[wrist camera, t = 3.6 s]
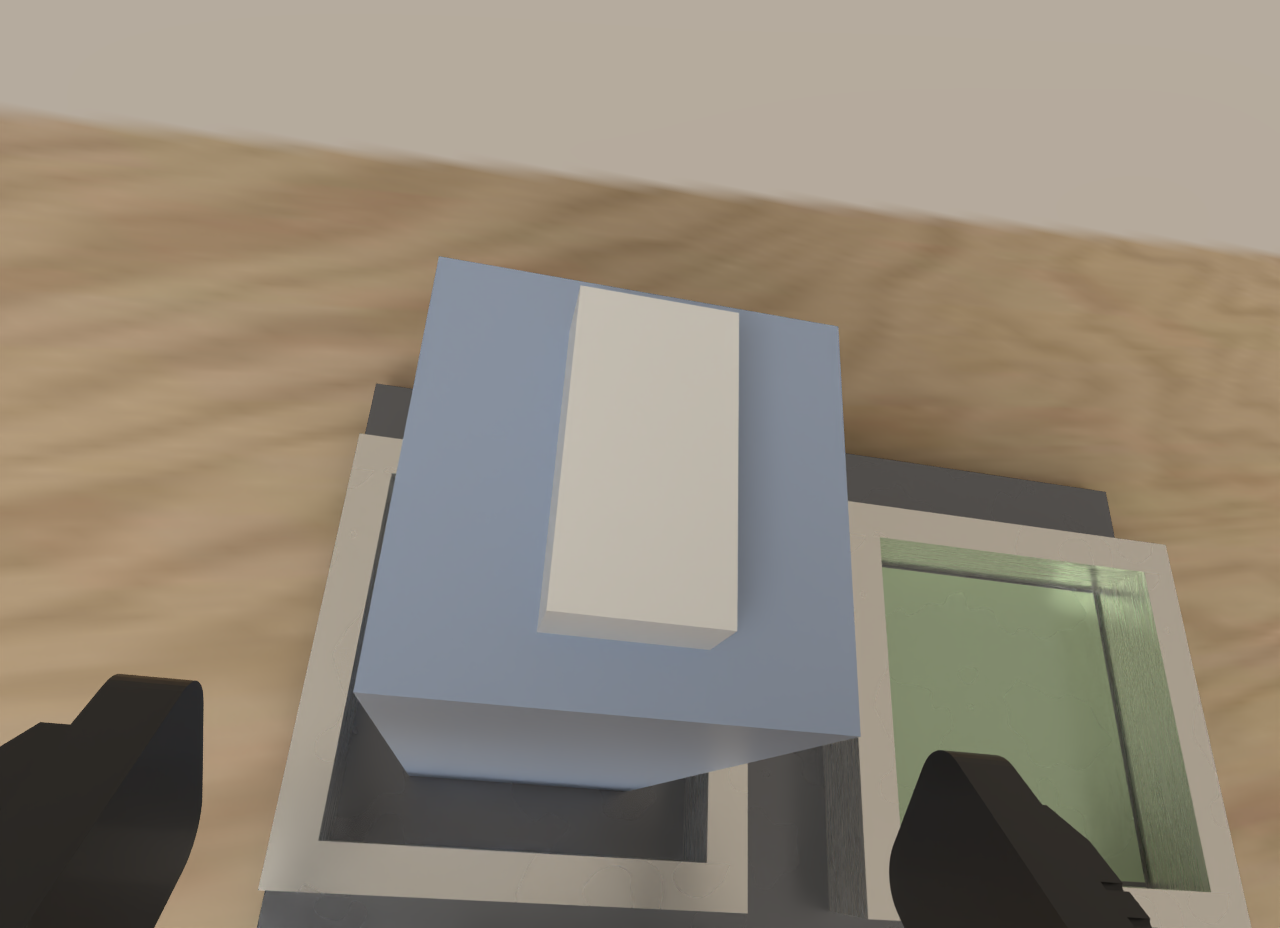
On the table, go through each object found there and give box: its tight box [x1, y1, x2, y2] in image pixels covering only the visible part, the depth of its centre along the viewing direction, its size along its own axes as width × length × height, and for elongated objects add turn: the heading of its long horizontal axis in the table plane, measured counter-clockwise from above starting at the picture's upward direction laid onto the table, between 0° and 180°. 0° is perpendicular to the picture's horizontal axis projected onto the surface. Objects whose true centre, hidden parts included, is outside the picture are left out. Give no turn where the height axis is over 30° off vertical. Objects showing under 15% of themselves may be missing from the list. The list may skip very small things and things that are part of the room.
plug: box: [353, 256, 861, 791], centre depth 13 cm, size 4×4×12 cm
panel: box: [257, 384, 1251, 928], centre depth 18 cm, size 20×13×2 cm, turn 86°
